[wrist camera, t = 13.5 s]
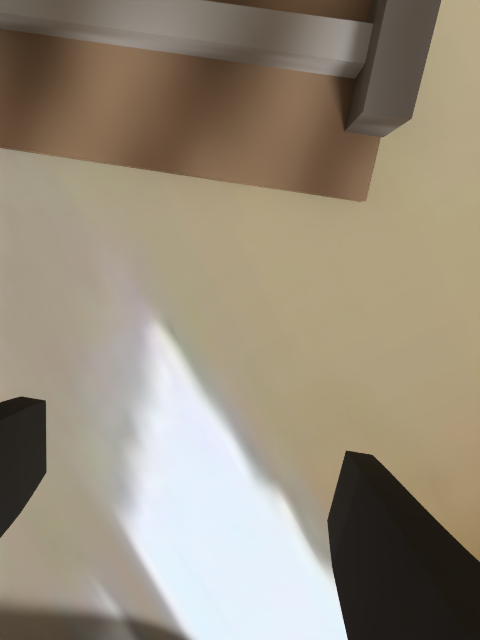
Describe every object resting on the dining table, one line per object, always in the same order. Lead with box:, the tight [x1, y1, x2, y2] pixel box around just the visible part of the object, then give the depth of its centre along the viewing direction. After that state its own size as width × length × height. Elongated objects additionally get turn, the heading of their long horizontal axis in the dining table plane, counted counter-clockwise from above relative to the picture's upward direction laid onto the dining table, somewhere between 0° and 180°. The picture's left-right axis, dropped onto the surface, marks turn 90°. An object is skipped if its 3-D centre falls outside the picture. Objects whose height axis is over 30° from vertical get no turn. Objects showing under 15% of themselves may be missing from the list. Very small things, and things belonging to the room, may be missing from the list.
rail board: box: [0, 0, 441, 201], centre depth 14 cm, size 30×10×4 cm, turn 82°
